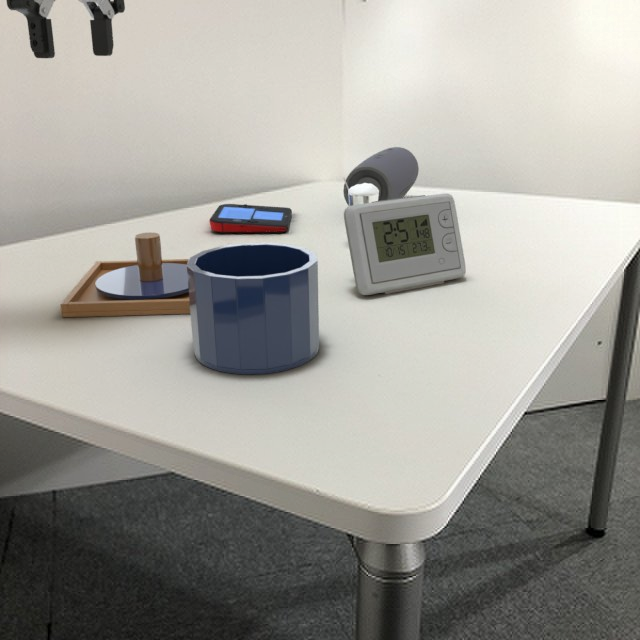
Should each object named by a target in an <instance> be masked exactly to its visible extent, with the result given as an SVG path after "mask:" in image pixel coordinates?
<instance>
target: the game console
mask: <svg viewBox="0 0 640 640" xmlns="http://www.w3.org/2000/svg"><path fill="white" fill-rule="evenodd" d="M292 215H293V211H292V209H291V207H283V206H269V205H268V206H266V205H255V204H253V205H252V204H247V203H246V204H239V203H237V204H236V203H224V204H220V205H218V207H217V208H216V209H215V211H214V212H213V214H212V215H211V216H210V218H209V226H210V229H211V230H212V231H213V232H215V233H223V234H224V233H227V234H237V233H238V234H241V233H242V234H243V233H245V234H246V233H248V234H249V233H250V234H252V233H253V234H257V233H258V234H260V233H261V234H266V233H267V234H269V233H271V234H273V233H278V234H279V233H280V234H281V233H286V232H287V231H288V229H289V226H290V222H291V217H292Z"/></svg>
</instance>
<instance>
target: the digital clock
mask: <svg viewBox="0 0 640 640" xmlns="http://www.w3.org/2000/svg"><path fill="white" fill-rule="evenodd" d="M343 219H344V227H345V233H346V239H347V244H348V249H349V255H350V260H351V266H352V272H353V278H354V283H355V288H356V290H357V293H358V294H360V295H362V296H369V295H370V296H371V295H376V294H381V293H382V294H383V295H388V294H393V293H399V292H405V291H409V290H416V289H420V288H426V287H431V286H437V285H441V284H445V281H451V280H455V279H460V278H463V277H464V276H465V275H466V271H467V268H466V261H465V260H466V259H465V254H464V248H463V242H462V235H461V232H460V226H459V219H458V213H457V208H456V204H455V198H454V197H453V195H452V194H450V193H437V194H430V195H425V194H423V195H421V194H420V195H414V196H406V197H405V196H404V197H403V198H398V199H390V200H382V201H374V202H371V203H366V204H358V205H352V206H347V207H346V208H345V209H344V211H343Z"/></svg>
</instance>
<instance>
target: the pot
mask: <svg viewBox="0 0 640 640" xmlns="http://www.w3.org/2000/svg"><path fill="white" fill-rule="evenodd" d="M188 259H189V261H188V263H187V276H188V288H189V301H190V313H191V314H190V322H191V336H192V349H193V353H194V357H195V359H196V360H197V361H198V362H199V363H200V364H201V365H203V366H205V367H207V368H209V369H211V370H213V371H216V372H217V371H218V372H222V373H225V374H227V373H228V374H235V375H266V374H267V375H268V374H273V373H280V372H284V371H288V370H292V369H295V368H297V367H301V366H303V365H305V364H306V363H308V362H311V360H313V359H314V358H315V357H316V356H317V354H318V352H319V349H320V320H319V319H320V317H319V270H318V269H319V268H318V267H319V266H318V263H319V262H318V255H317V253H316V252H313V251H312V250H311V249H308V248H306V247H302V246H298V245H293V244H288V243H275V242H247V243H246V242H244V243H235V244H229V245H220V246H216V247H213V248H208V249H205V250H202V251H200V252H198V253H195V254H194V255H192V256H190V257H189V258H188Z"/></svg>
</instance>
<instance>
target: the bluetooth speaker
mask: <svg viewBox="0 0 640 640" xmlns="http://www.w3.org/2000/svg"><path fill="white" fill-rule="evenodd" d="M419 167H420V166H419V162H418V160H417V158H416V156H415V155H414V154H413V153H412V151H410V150H408V149H407V148H405V147H401V146H393V147H388V148H385V149H383V150H380V151H378V152H376V153H373V155H370V156H369V157H367V158H365V160H363V161H361V162H360V163H359V164H358V165H357V166H355V167H354V168H353V169H352V170H351V171H350V172H349V174H348V175H347V177H346V178H345V180H346V183H347V185H348V188H349V189H350V188H351V187H352V186H355V185H357V184H363V183H368V184H369V183H370V184H373V185H374V186H376V187H377V188H378V190H379V197H378V201H382V200H390V199H398V198H405V196H406V195H407V194H408V192H409V191H410V190H411V189H412V187H413V186H414V184H415V183H416V181H417V179H418V177H419V172H420V169H419ZM342 191H343V197H344V200H345V202H346V204H347V207H349V196H348V189H347V186H346V184H345V183H344V184H343V190H342Z"/></svg>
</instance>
